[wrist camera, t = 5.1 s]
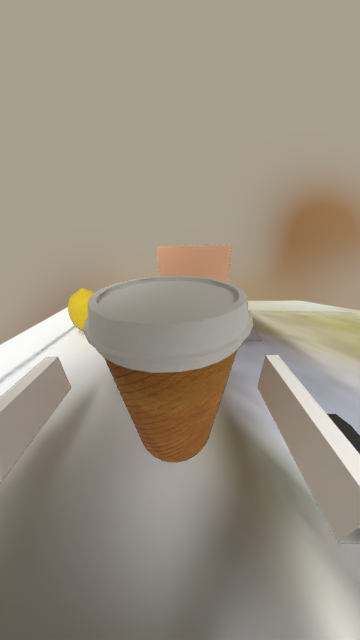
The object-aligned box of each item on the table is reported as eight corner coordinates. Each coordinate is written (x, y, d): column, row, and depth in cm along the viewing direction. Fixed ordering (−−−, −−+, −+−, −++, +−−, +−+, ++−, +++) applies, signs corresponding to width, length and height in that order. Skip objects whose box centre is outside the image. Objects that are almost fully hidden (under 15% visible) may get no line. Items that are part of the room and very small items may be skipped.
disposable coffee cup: (97, 429, 14) (47, 295, 9) (171, 368, 21) (166, 270, 16) (184, 542, 9) (180, 373, 4) (247, 413, 16) (278, 285, 10)
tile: (217, 343, 26) (227, 244, 20) (220, 352, 24) (231, 245, 18) (165, 344, 26) (159, 245, 20) (164, 352, 24) (156, 246, 18)
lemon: (86, 344, 26) (70, 295, 23) (71, 333, 29) (55, 289, 26) (117, 330, 30) (107, 286, 27) (101, 322, 33) (90, 282, 30)
